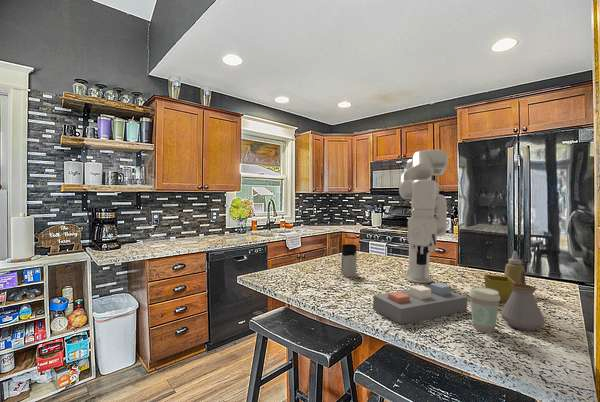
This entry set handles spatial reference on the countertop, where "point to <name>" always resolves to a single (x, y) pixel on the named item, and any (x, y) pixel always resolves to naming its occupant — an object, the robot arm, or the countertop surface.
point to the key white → (420, 292)
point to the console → (419, 306)
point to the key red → (398, 297)
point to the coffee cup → (484, 308)
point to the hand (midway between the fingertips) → (421, 264)
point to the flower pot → (500, 285)
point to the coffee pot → (522, 307)
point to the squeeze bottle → (514, 268)
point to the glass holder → (348, 259)
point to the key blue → (440, 289)
